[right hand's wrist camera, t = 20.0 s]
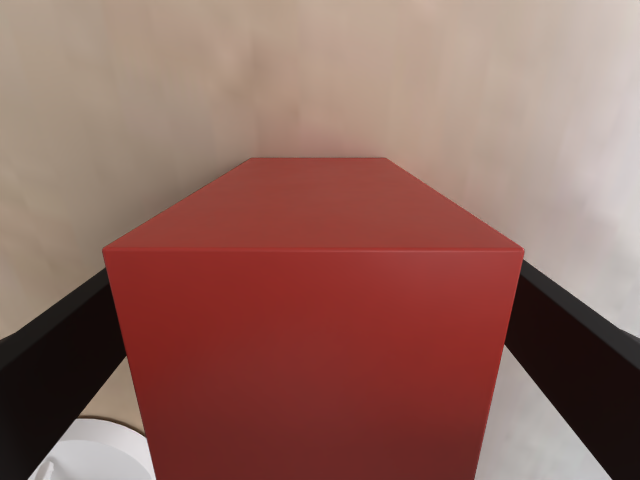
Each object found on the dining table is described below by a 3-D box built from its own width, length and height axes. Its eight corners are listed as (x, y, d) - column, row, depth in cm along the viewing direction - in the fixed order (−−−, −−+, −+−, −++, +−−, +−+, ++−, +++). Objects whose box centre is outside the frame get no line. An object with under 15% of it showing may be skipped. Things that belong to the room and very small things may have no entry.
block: (376, 316, 19) (451, 589, 8) (261, 316, 19) (180, 589, 8) (386, 157, 16) (527, 248, 5) (250, 157, 16) (99, 248, 5)
